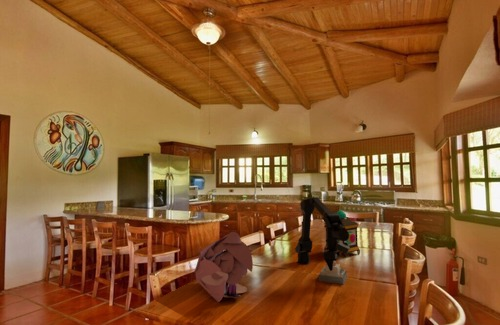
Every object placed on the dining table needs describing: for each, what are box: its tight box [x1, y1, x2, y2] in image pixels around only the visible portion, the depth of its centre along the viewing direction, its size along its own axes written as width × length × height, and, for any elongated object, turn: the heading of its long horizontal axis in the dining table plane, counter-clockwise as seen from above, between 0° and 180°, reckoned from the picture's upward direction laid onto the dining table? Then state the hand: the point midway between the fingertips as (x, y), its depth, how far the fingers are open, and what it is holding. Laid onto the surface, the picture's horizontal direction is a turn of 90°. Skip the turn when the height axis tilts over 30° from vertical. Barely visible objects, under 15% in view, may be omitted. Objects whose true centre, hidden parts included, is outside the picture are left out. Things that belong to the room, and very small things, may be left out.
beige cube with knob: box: [325, 261, 341, 274], centre depth 144 cm, size 6×6×6 cm
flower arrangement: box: [193, 231, 254, 303], centre depth 129 cm, size 35×24×28 cm
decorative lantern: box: [323, 210, 361, 259], centre depth 195 cm, size 20×20×30 cm
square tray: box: [318, 265, 348, 286], centre depth 143 cm, size 12×12×4 cm
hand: (332, 268), depth 143 cm, fingers open, 9 cm apart
